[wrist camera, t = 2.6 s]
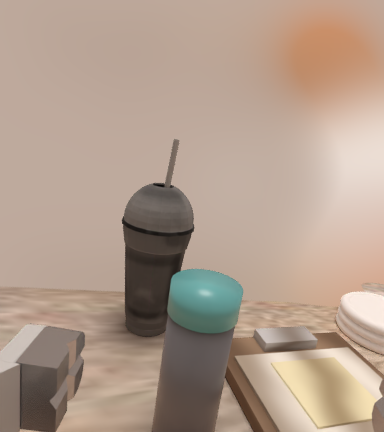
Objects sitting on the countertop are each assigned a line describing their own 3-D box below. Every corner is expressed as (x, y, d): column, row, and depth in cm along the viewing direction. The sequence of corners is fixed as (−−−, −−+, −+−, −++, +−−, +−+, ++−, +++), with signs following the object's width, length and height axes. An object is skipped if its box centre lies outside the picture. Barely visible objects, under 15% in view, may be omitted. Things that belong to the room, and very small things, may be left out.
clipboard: (382, 676, 15) (397, 643, 14) (211, 349, 35) (214, 330, 35) (588, 581, 20) (605, 554, 19) (333, 341, 40) (338, 324, 39)
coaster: (403, 322, 47) (411, 299, 46) (440, 370, 38) (451, 342, 37) (327, 306, 49) (334, 284, 48) (345, 349, 39) (353, 322, 38)
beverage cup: (154, 301, 43) (175, 136, 38) (193, 331, 38) (223, 146, 33) (100, 316, 38) (115, 130, 33) (135, 353, 33) (159, 140, 28)
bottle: (157, 470, 22) (181, 304, 19) (145, 412, 27) (164, 268, 23) (222, 458, 24) (255, 302, 21) (202, 405, 28) (226, 269, 25)
